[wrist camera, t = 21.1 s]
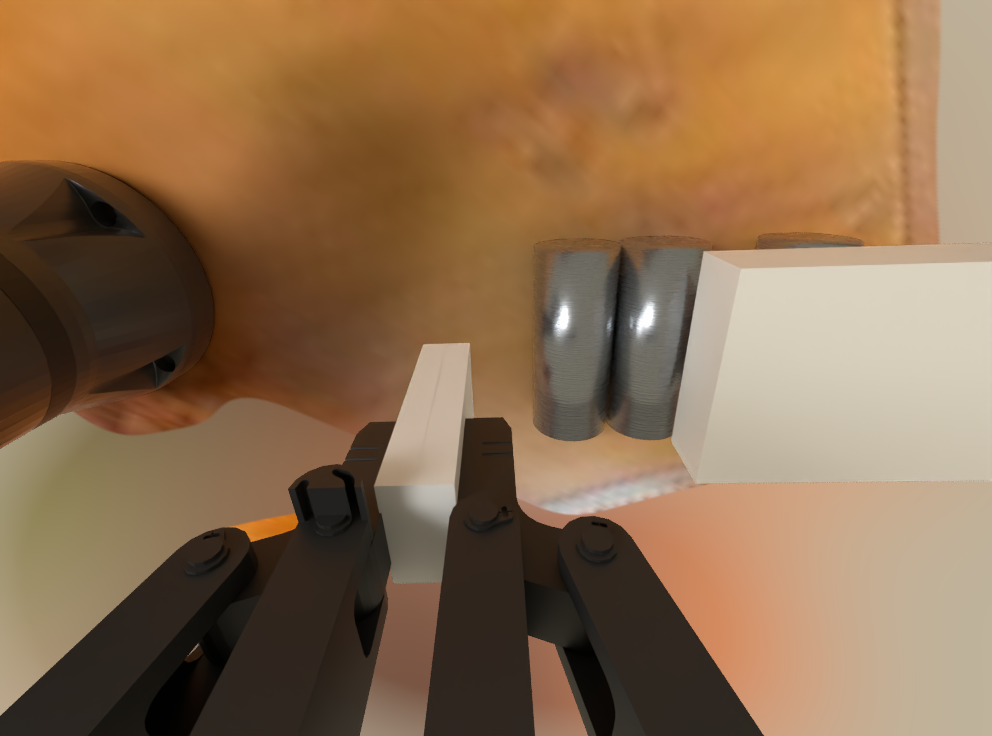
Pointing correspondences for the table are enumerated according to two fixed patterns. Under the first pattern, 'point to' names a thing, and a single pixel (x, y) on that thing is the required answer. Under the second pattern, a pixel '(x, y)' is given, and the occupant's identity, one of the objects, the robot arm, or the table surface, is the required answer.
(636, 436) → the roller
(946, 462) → the slab
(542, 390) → the cylinder
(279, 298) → the table surface
